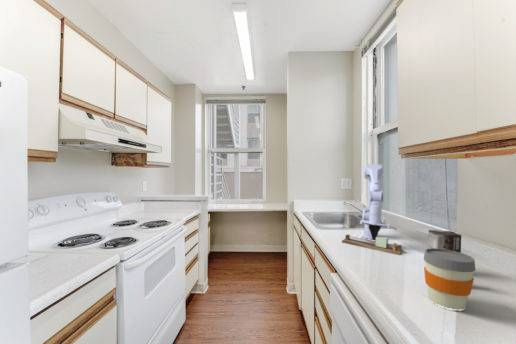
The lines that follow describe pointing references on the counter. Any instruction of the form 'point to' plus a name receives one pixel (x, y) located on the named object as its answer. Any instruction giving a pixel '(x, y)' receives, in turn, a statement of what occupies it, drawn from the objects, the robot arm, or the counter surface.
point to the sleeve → (381, 241)
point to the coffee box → (444, 240)
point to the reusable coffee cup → (448, 277)
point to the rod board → (373, 245)
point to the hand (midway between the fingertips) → (374, 239)
